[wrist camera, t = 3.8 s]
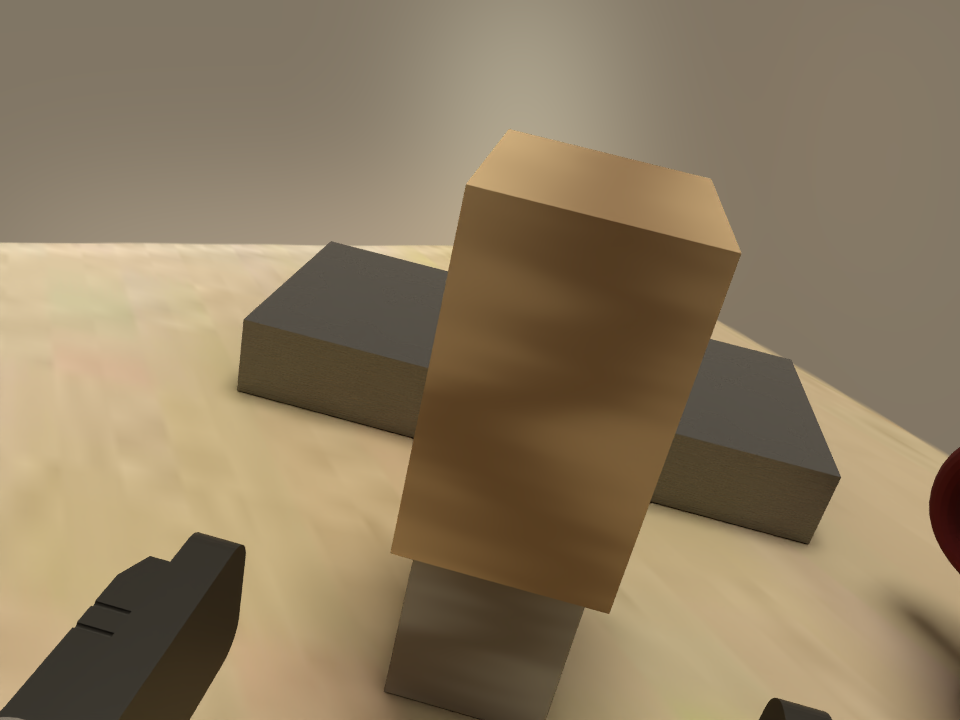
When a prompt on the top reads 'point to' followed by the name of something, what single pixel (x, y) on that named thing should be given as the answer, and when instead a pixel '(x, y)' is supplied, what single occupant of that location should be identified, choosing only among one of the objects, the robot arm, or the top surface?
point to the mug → (947, 508)
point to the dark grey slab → (405, 361)
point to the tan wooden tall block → (547, 412)
